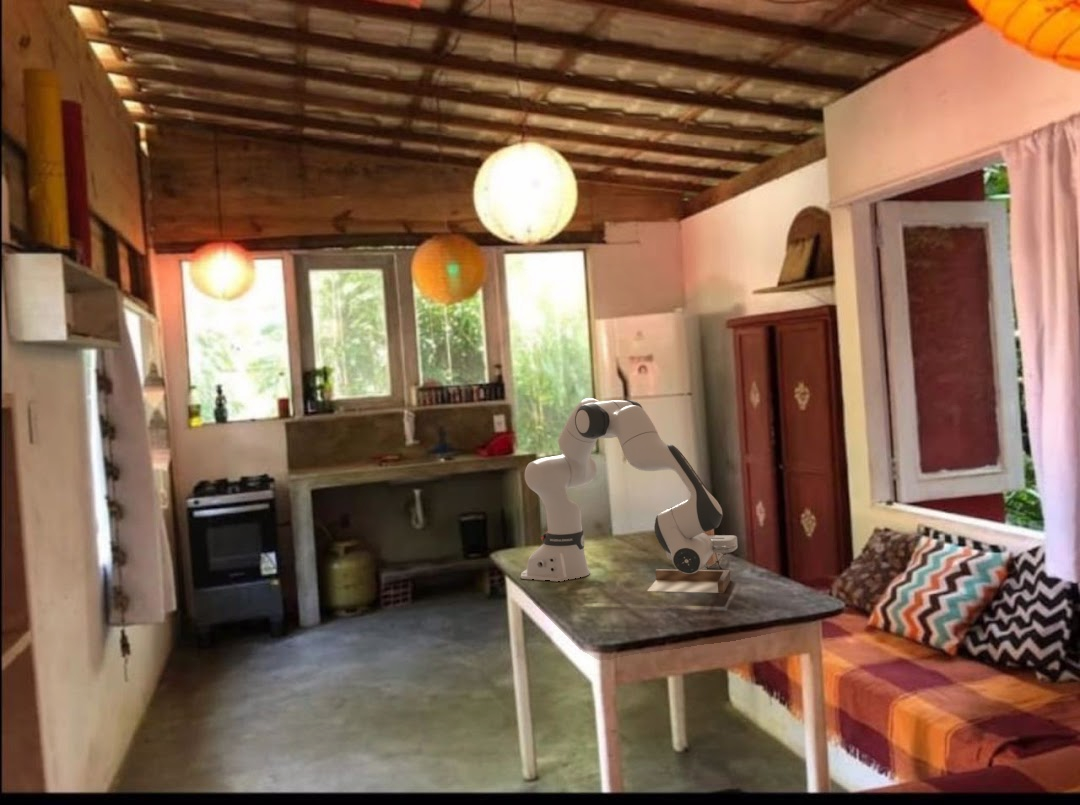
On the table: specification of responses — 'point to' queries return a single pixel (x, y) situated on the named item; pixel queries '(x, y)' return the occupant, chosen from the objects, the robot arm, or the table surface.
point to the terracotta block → (713, 557)
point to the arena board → (691, 581)
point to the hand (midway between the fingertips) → (704, 537)
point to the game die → (718, 561)
